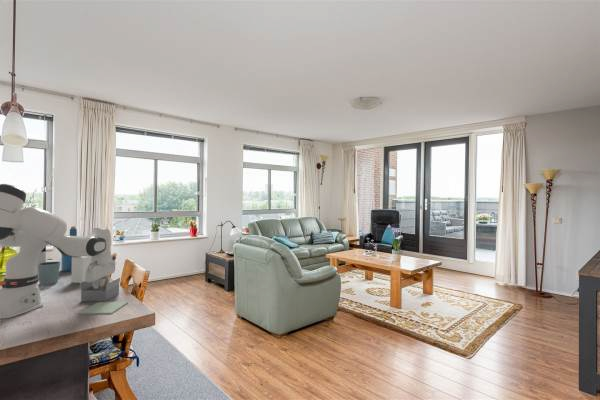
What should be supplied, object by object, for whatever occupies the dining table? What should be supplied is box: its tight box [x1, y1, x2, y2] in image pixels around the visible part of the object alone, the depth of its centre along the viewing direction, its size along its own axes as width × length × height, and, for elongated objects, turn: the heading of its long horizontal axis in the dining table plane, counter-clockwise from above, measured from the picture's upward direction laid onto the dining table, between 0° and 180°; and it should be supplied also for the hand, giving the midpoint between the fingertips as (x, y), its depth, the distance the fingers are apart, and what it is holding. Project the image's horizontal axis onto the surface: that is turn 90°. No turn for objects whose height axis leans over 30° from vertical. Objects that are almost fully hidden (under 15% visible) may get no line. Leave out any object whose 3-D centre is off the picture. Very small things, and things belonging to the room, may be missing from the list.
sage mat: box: [79, 301, 129, 315], centre depth 147 cm, size 14×14×1 cm
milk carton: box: [71, 256, 91, 284], centre depth 190 cm, size 7×7×19 cm
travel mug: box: [37, 246, 47, 280], centre depth 196 cm, size 6×7×20 cm
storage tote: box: [79, 276, 121, 302], centre depth 162 cm, size 12×13×9 cm
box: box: [93, 276, 110, 291], centre depth 162 cm, size 5×5×10 cm
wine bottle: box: [60, 225, 78, 273], centre depth 219 cm, size 14×13×30 cm
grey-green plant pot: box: [38, 261, 61, 287], centre depth 186 cm, size 10×10×12 cm
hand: (100, 286), depth 162 cm, fingers closed on box, 5 cm apart
